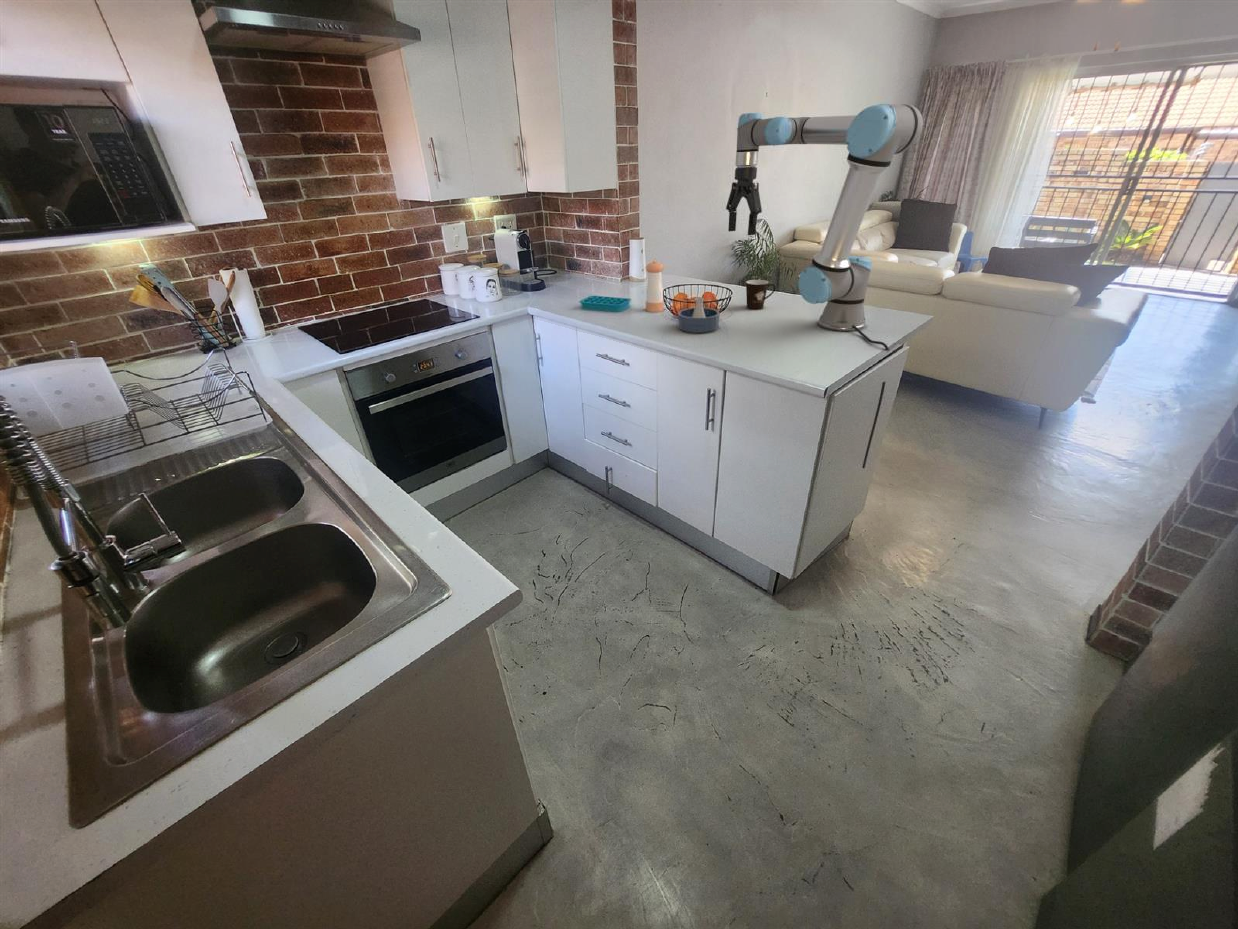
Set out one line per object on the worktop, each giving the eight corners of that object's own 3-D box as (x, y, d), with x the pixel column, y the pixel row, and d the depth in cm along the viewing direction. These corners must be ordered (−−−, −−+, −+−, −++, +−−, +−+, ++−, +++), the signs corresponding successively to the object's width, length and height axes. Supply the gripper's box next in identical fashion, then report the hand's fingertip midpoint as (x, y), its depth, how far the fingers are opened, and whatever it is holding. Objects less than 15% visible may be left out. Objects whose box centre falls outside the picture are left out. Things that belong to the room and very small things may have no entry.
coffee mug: (743, 310, 202) (745, 284, 197) (744, 304, 209) (746, 279, 204) (773, 310, 200) (776, 284, 194) (773, 305, 207) (776, 279, 201)
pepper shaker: (656, 306, 213) (656, 258, 203) (667, 309, 208) (667, 260, 198) (642, 309, 210) (641, 260, 200) (652, 313, 205) (652, 263, 195)
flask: (707, 329, 181) (709, 300, 176) (687, 329, 182) (688, 300, 177) (708, 323, 187) (710, 295, 182) (689, 323, 188) (689, 295, 183)
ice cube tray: (592, 302, 224) (591, 295, 223) (632, 305, 216) (632, 298, 214) (578, 308, 216) (577, 301, 214) (619, 312, 207) (619, 305, 206)
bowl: (725, 330, 181) (726, 314, 178) (689, 336, 177) (689, 320, 174) (706, 320, 193) (707, 305, 190) (671, 325, 189) (671, 310, 186)
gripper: (776, 165, 167) (769, 235, 178) (736, 166, 188) (732, 228, 199) (756, 167, 165) (751, 237, 176) (719, 167, 186) (715, 230, 197)
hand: (741, 232), depth 188 cm, fingers open, 13 cm apart
